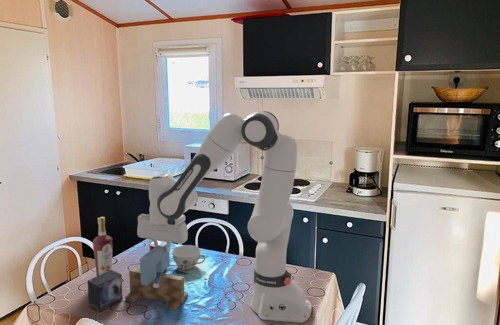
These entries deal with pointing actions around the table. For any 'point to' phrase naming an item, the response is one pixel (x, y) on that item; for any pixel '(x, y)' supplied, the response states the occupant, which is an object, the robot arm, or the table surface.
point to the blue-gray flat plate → (153, 263)
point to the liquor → (102, 249)
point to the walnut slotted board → (158, 289)
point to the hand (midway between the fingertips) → (162, 250)
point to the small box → (104, 290)
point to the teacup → (187, 256)
